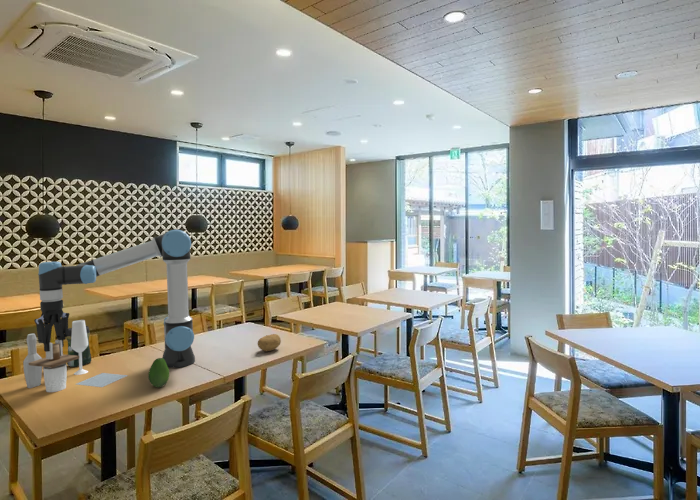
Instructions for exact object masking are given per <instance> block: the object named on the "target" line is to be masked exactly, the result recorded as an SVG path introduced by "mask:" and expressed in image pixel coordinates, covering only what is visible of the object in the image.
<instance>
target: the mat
mask: <svg viewBox="0 0 700 500" xmlns="http://www.w3.org/2000/svg"><path fill="white" fill-rule="evenodd" d="M126 377H128V375H126V374H117V373H107V372H101V373H99V374H96V375H94V376H92V377H89V378H87V379H84V380H82V381H80V382H77V383H76V385H79V386H87V387H95V388H96V387H97V388H104V387H105V386H106V387H107V386H108V385H111V384H113V383H116V382H117V381H119V380H121V379H124V378H126Z"/></svg>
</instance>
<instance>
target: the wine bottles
mask: <svg viewBox="0 0 700 500" xmlns="http://www.w3.org/2000/svg"><path fill="white" fill-rule="evenodd" d="M86 331H87V338H88V346H87V348H86V349H85V350H84V351H83V352H82V366H85V365H88V364H91V362H92V354H91V349H90V342H89V341H90V339H89V338H90V334H91V332H90V327H89V326H88V325H86ZM71 336H72V327H68V336H67V337H65V338H66V339H65V340H67V355H75V356H79V353H78V352H76V351H74V350H73V349H72V348H71ZM66 364H67V366H68V367H69V366H70V368H73V367H74V368H77V366H78V367H79V359H76V360H73V361H70V362H67V363H66Z"/></svg>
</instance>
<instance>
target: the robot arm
mask: <svg viewBox="0 0 700 500" xmlns="http://www.w3.org/2000/svg"><path fill="white" fill-rule="evenodd" d="M191 239H192V238H191V237H190V235H189V234H188V233H187V232H185V231H184V230H181V229H171V230H167V231H166V232H165V233H163V234H160V235H158V236H154V237H152V239H151V240H150V241H147V242H146V241H145V242H144V243H141V244H137V245H134V246H131V247H128V248H125V249H121V250H119V251H117V252H113V253H109V254H107V255H103V256H100V257H97V258H95V259H90V260H88V261H85V262H81V263H78V264H77V265H67V266H66V265H62V263H61V262H60V261H44V262H43V261H42V262H40V263H39V265H38V274H37V275H38V284H39V285H38V287H39V300H40V302H39V303H40V304H39V305H40V307H39V309H40V311H41V315H40V317H39V318H35V319H34V320H33V321H34V323H35V325H36V333H37V342H38V343H39V344H43V350H44V352H45V357H46V359H53V346H52V344H53V342H51V341H52V340H51V339H52V329H54V332H55V335H56V339H55V341H54V344H59V349H60V356H63V354H64V353H63V351H64V350H63V348H64V345H65V344H64V340H67V339H66V337H67V336H68V328H69V317H70V313H69V312H64V310H63V309H64V300H63V298H64V295H63V293H64V292H63V285H64V286H65V285H81V284H82V285H87V284H94V283H96V282H97V278H98V277H99V276H102V275H105V274H108V273H111V272H115V271H117V270H119V269H122V268H126V267H129V266H132V265H134V264H138V263H140V262H141V263H142V262H144V261H146V260H150V259H153V258H155V257H161V258H162V261H163V262H164V263H165V264H166V288H167V313H168V314H167V315H168V316H166V317H164V318H163V333H164V335H163V337H164V351H163V354H162V357H161V358H163V359H164V360H165V362H166V364H167V367H168V368H170V369H171V368H172V369H173V368H183V367H187V366H190V365H193V364H194V363H195V362H196V357H195V354H194V351H193V348H192V344H193V343H194V339H195V333H194V327H193V324H194V323H193V317H192V316H190V312H189V310H190V309H189V285H188V283H189V282H188V281H189V280H188V262H190V260H191V248H192V240H191ZM53 327H54V328H53Z"/></svg>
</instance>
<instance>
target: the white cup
mask: <svg viewBox="0 0 700 500" xmlns="http://www.w3.org/2000/svg"><path fill="white" fill-rule="evenodd" d="M67 366H68V365H67V363H64V364H61V365H59V366H56V367H53V368H51V367H42V371H43V372H42V373H43V381H44V387H45V392H46V393H55V392H57V393H58V392H60V391H62V390H65V389H67V378H68V377H67V375H68V374H67V373H68V370H67V369H68V368H67Z"/></svg>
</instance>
